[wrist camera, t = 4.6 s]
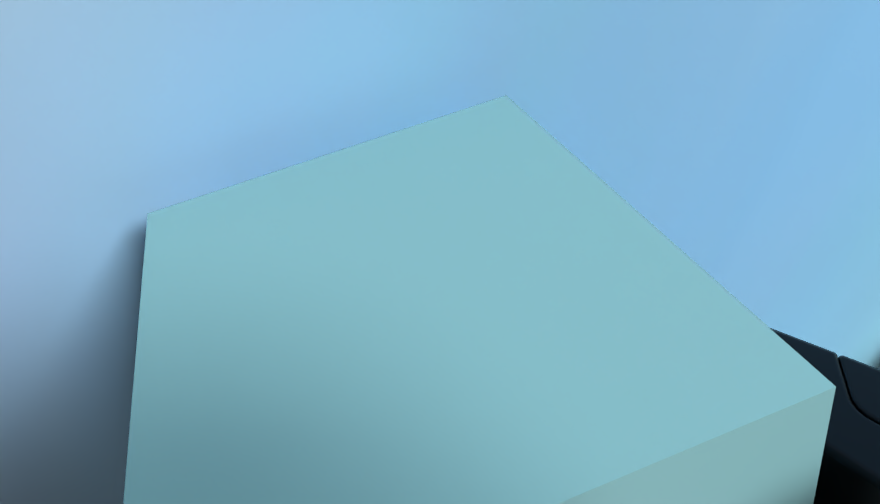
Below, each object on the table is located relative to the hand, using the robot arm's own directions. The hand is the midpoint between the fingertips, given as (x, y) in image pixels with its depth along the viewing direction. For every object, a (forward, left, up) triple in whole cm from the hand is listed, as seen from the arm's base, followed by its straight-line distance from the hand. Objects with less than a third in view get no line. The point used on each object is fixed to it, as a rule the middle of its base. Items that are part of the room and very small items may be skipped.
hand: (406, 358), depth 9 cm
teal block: (0, 0, -2) cm, 2 cm away
